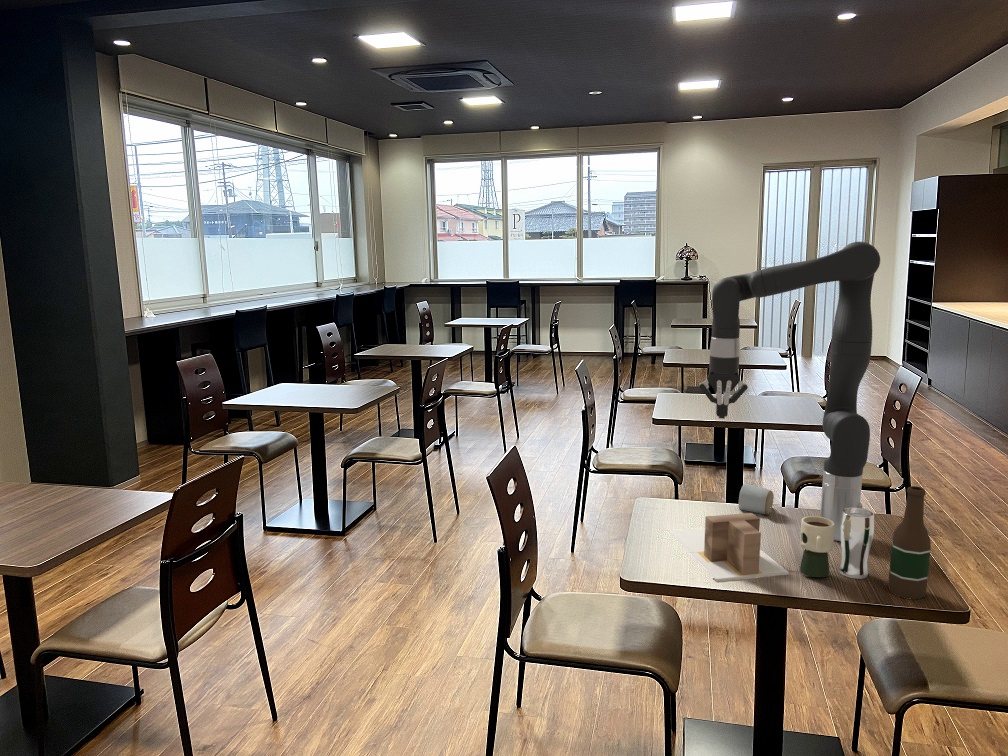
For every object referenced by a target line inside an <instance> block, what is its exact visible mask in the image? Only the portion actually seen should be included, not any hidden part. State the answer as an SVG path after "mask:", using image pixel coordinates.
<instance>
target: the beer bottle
mask: <svg viewBox="0 0 1008 756" xmlns="http://www.w3.org/2000/svg"><path fill="white" fill-rule="evenodd" d="M906 493H907V498H906V504H905V509H904V515H903V518H902V521H901V522H900V523H898V525H896V527H895V529H894V531H893V533H892V540H891V550H890V558H889V559H890V561H889V571H888V590H889V592H890V593H891V592H892V593H891V594H893V593H894V594H893V595H895V594H896V595H895V596H897V595H898V596H897V597H899V596H900V597H899V598H901V597H905V598H904V599H907V598H911V599H910V600H913V599H916V600H919V599H918V598H920V599H923V598H922V597H924V598H925V597H926V593H927V590H928V589H927V587H928V579H929V568H930V560H931V559H930V558H931V550H932V549H931V547H932V545H931V539H930V536H929V535H930V534H929V531H928V529H927V528H926V526H925V521H924V513H925V512H924V510H925V509H924V507H925V506H924V505H925V496H926V495H927V493H926V489H925V488H923V487H921V486H918V485H917V486H915V485H913V486H908V487H907V489H906Z"/></svg>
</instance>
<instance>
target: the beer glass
mask: <svg viewBox="0 0 1008 756" xmlns="http://www.w3.org/2000/svg"><path fill="white" fill-rule="evenodd" d="M874 532H875V513H874V511H872V510H869V509H867V508H863V507H862V508H858V507H848V508H844V509H843V513H842V519H841V526H840V537H841V541H840V546H841V562H840V564H839V568H838V569H839V570H838V571H839V573H840V574H841V575H842V576H844V577H846V578H850V579H855V580H863V579H865V578H867V577H868V574H869V573H868V570H869V569H868V557H869V553H870V551H871V547H872V544H873V541H874V539H873V538H874V534H875V533H874Z"/></svg>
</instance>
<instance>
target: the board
mask: <svg viewBox="0 0 1008 756" xmlns="http://www.w3.org/2000/svg"><path fill="white" fill-rule="evenodd" d="M667 532H668V533H669V534H670V535H671V536H672V537H673V538H674V539H675V540H676V541H677V542H678V543H679V544H680V545H681V546H682V547H683V548H684V549H685V550H686V551H687V552H688V553H689V554H690V555H691V556H692V557H693V558H694V559H695V561H697V562H698V563H699V564H700V566H702V567H703V568H704V569H705V571H707V573H709V574H710V576H712V580H714V582H722V581H723V582H724V581H733V580H744V579H752V578H753V579H755V578H766V577H774V576H775V577H776V576H785V575H789V571H788V570H786V569H785V568H784V567H783V566H781V564H779V563H778V562H777V561H775V560H774V559H773V558H772V557H770V556H769V555H768V554H767V553H765V551H763V550H761V548H760V558H759V574H750V575H742V574H741V573H740V572H738V571H737V570H736V569H735V568H734V567H733V566H732V565H731V564H730V563H729V562H728V561H717V562H711V561H709V560H708V559H707V558H706V557H705V556H704V542H705V526H703V527H701V526H700V527H692V528H691V527H690V528H679V529H677V528H676V529H668V530H667Z"/></svg>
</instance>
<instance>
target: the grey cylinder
mask: <svg viewBox="0 0 1008 756" xmlns="http://www.w3.org/2000/svg"><path fill="white" fill-rule="evenodd" d="M774 499H775V498H774V493H773V491H772V490H771V489H768V488H764V487H760V486H756V485H754V484H749V483H743V485H742V486H741V489H740V491H739V497H738V509H739V510H740V511H745V512H749V513H754V514H755V513H756V514H761V515H766V516H767V515H769V514H770V513H771V511H772V508H773V505H774ZM770 507H772V508H770Z"/></svg>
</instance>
